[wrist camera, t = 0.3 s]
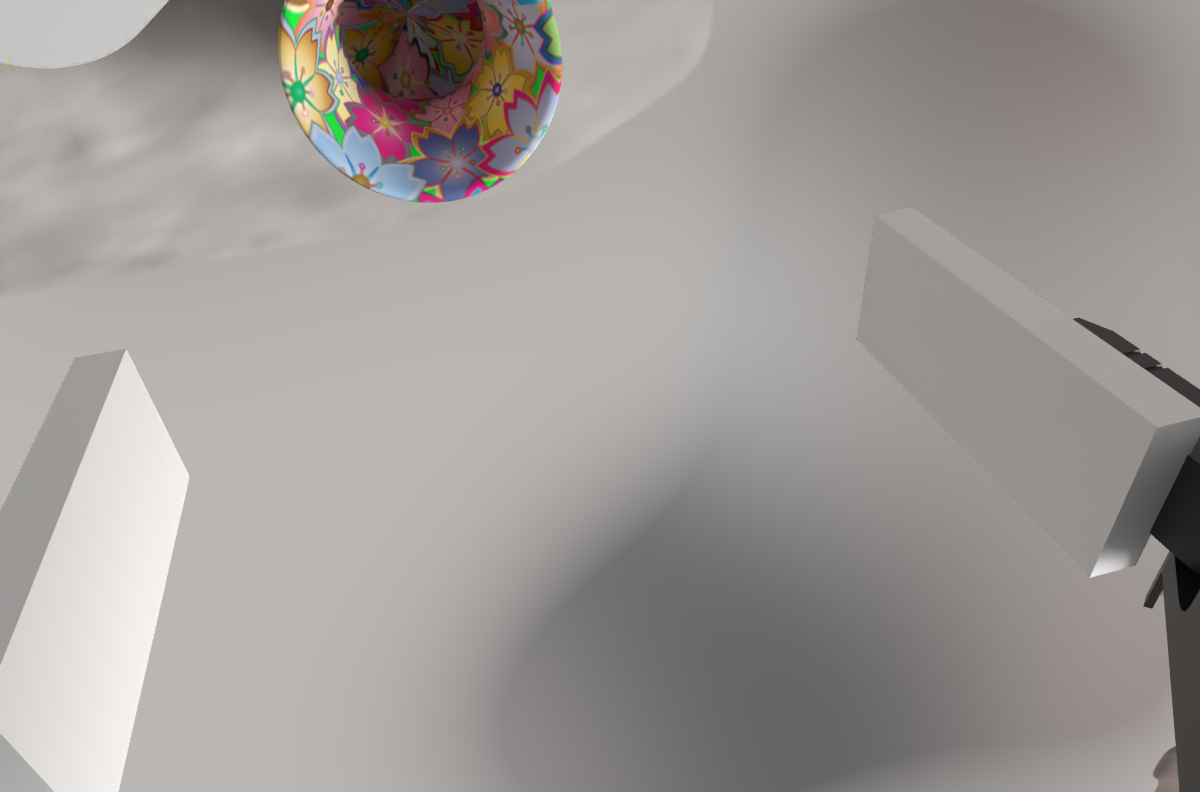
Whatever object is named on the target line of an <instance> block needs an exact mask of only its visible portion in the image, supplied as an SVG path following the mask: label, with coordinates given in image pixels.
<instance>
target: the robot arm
mask: <svg viewBox="0 0 1200 792" xmlns="http://www.w3.org/2000/svg"><path fill="white" fill-rule="evenodd" d="M856 339H857V340H858V341H859V342H860V343H861V344H862V345H863V346H864V347H865V348H866V349H867V350H868V351H869V352H870V353H871V354H872V355H873V357H875V358H876V360H877V361H878V362H879V363H880V364H882V366H883V367H884V368H885V369H886V370H887V371H888V372H889V373H890V374H891V375H892V376H893V377H894V378H895V379H896V380H897V381H898V382H899V383H900V384H901V385H902V386H903V387H904V388H905V389H906V390H907V391H908V392H909V393H910V394H911V395H912V396H913V397H914V398H915V399H916V400H917V402H919V404H920V405H922V407H923V408H924V409H925V410H926V411H927V412H928V413H929V414H930V415H931V416H932V417H933V418H934V419H935V420H936V421H937V422H938V423H939V424H940V425H941V426H942V427H943V428H944V429H945V430H946V431H947V432H948V433H949V434H950V435H951V436H952V437H953V438H954V439H955V440H956V441H957V442H958V443H959V445H961V447H962V448H963V449H964V450H965V451H966V452H967V453H968V454H969V455H970V456H971V457H972V458H973V459H974V460H975V461H976V462H977V463H978V464H979V465H980V466H981V467H982V468H983V469H984V470H985V471H986V472H987V473H988V474H989V475H990V476H991V477H992V478H993V479H994V480H995V481H996V482H997V483H998V484H999V485H1000V486H1001V487H1002V488H1003V489H1004V491H1005V492H1007V493H1008V495H1009V496H1011V498H1012V499H1013V500H1014V501H1015V502H1016V503H1017V504H1018V505H1019V506H1020V507H1021V508H1022V509H1023V510H1024V511H1025V512H1026V513H1027V514H1028V515H1029V516H1030V517H1031V518H1032V519H1033V520H1034V521H1035V522H1036V523H1037V524H1038V525H1039V526H1040V527H1041V528H1042V529H1043V530H1044V531H1045V532H1046V533H1047V535H1048V536H1049V537H1050V538H1052V540H1053V541H1054V542H1055V543H1056V544H1057V545H1058V546H1059V547H1060V548H1061V549H1062V550H1063V551H1064V552H1065V553H1066V554H1067V555H1068V556H1069V557H1070V558H1071V559H1072V560H1073V561H1074V562H1075V563H1076V564H1077V565H1078V566H1079V567H1080V568H1081V569H1082V570H1083V571H1084V572H1085V573H1086V574H1087V575H1088V576H1089V578H1090V577H1094V576H1098V575H1102V574H1105V573H1109V572H1112V571H1116V570H1120V569H1123V568H1127V567H1131V566H1134V565H1136V564H1137V562H1138V559H1139V558H1140V556H1141V554H1142V551H1143V549H1144V547H1145V545H1146V543H1147V541H1148V539H1149V537H1150V535H1151V534H1152V535H1153V536H1154V537H1155V538H1156V539H1157V540H1158V541H1159V542H1161V543H1162V544H1163V545H1164V546H1165V547H1166V548H1167V549H1169V550H1170V551H1169V553H1168V555H1167V557H1166V559H1165V561H1164V563H1163V564H1162V566H1161V568H1160V570H1159V572H1158V574H1157V576H1156V578H1155V580H1154V582H1153V584H1152V586H1151V587H1150V589H1149V591H1148V593H1147V595H1146V598H1145V602H1144V606H1145V607H1148V608H1153V606H1154V604H1155V602H1156V601H1157V599H1158V597H1159V596H1161V595H1163V594H1164V604H1165V617H1166V628H1167V641H1168V653H1169V666H1170V678H1171V691H1172V703H1173V716H1174V728H1175V740H1176V753H1177V765H1178V778H1179V790H1180V792H1200V389H1198V388H1197V387H1195V386H1194V385H1192V384H1191V383H1189V382H1188V381H1186V380H1185V379H1183V378H1182V377H1180V376H1179V375H1177V374H1176V373H1174V372H1173V371H1172V370H1170V369H1169V368H1165V369H1163V368H1162V364H1161V363H1159V362H1158V361H1157V360H1155V359H1154V358H1152V357H1151V356H1149V355H1148V354H1146V353H1143V354H1141V353H1140V349H1139V348H1137V347H1136V346H1134V345H1133V344H1131V343H1130V342H1128V341H1127V340H1125V339H1124V338H1123V337H1121V336H1120V335H1118V334H1116V333H1115V332H1114V331H1111V330H1109V329H1106V328H1104V327H1101V326H1099V325H1096V324H1093V323H1091V322H1088V321H1086V320H1083V319H1081V318H1075V319H1072V318H1070V317H1069V316H1067V315H1066V314H1064V313H1063V312H1062V311H1060V310H1059V309H1057V308H1056V307H1054V306H1053V305H1051V304H1050V303H1049V302H1047V301H1046V300H1044V299H1043V298H1041V297H1040V296H1038V295H1037V294H1035V293H1034V292H1033V291H1031V290H1030V289H1028V288H1027V287H1026V286H1024V285H1023V284H1021V283H1020V282H1018V281H1017V280H1015V279H1014V278H1012V277H1011V276H1010V275H1008V274H1007V273H1005V272H1004V271H1002V270H1001V269H1000V268H998V267H997V266H995V265H994V264H992V263H991V262H990V261H988V260H986V259H985V258H984V257H982V256H981V255H979V254H978V253H977V252H975V251H974V250H972V249H971V248H969V247H968V246H966V245H965V244H964V243H962V242H961V241H959V240H958V239H956V238H955V237H953V236H952V235H951V234H949V233H948V232H946V231H945V230H943V229H942V228H941V227H939V226H937V225H936V224H935V223H933V222H932V221H930V220H929V219H928V218H926V217H925V216H923V215H922V214H920V213H919V212H917V211H916V210H914V209H913V208H908V209H903V210H897V211H891V212H886V213H881V214H875V218H874V225H873V231H872V238H871V245H870V251H869V258H868V264H867V271H866V278H865V285H864V291H863V298H862V304H861V311H860V318H859V325H858V331H857V338H856ZM188 481H189V475H188V473H187V471H186V468H185V467H184V465H183V462H182V460H181V458H180V456H179V454H178V453H177V450H176V449H175V446H174V444H173V442H172V440H171V439H170V436H169V434H168V432H167V430H166V428H165V426H164V424H163V422H162V420H161V418H160V417H159V414H158V412H157V410H156V408H155V406H154V404H153V402H152V400H151V398H150V396H149V394H148V392H147V390H146V388H145V386H144V384H143V382H142V380H141V378H140V376H139V374H138V372H137V370H136V368H135V366H134V364H133V362H132V360H131V358H130V356H129V354H128V352H127V350H126V349H122V350H117V351H112V352H106V353H100V354H95V355H89V356H84V357H78V358H74V360H73V362H72V364H71V367H70V369H69V371H68V373H67V375H66V377H65V379H64V381H63V383H62V385H61V387H60V389H59V391H58V393H57V395H56V397H55V400H54V402H53V404H52V406H51V408H50V410H49V412H48V414H47V416H46V418H45V420H44V422H43V424H42V426H41V428H40V430H39V433H38V435H37V437H36V439H35V441H34V443H33V445H32V447H31V449H30V451H29V453H28V455H27V457H26V459H25V461H24V464H23V466H22V468H21V470H20V472H19V474H18V476H17V478H16V480H15V482H14V484H13V486H12V488H11V490H10V492H9V494H8V497H7V499H6V501H5V503H4V505H3V507H2V509H1V511H0V792H118V791H119V787H120V782H121V778H122V774H123V769H124V764H125V760H126V756H127V751H128V747H129V742H130V738H131V733H132V729H133V725H134V720H135V716H136V711H137V707H138V702H139V698H140V694H141V689H142V685H143V681H144V676H145V672H146V667H147V663H148V658H149V654H150V650H151V645H152V641H153V636H154V632H155V628H156V622H157V618H158V614H159V610H160V605H161V601H162V596H163V592H164V588H165V583H166V579H167V574H168V570H169V565H170V561H171V556H172V552H173V548H174V543H175V539H176V535H177V530H178V526H179V521H180V517H181V512H182V508H183V504H184V499H185V495H186V490H187V486H188Z"/></svg>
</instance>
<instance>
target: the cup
mask: <svg viewBox="0 0 1200 792" xmlns="http://www.w3.org/2000/svg"><path fill="white" fill-rule="evenodd" d="M168 1H169V0H0V63H4V64H8V65H14V66H20V67H28V68H63V67H72V66H77V65H82V64H85V63H89V62H92V61H95V60H98V59H100V58H103V57H105V56H107V55H109V54H111V53H113V52H115V51H117V50H118V49H120V48H121V47H123V46H124V45H126V44H127V43H128V42H130V41H131V40H132V39H133V38H134V37H135V36H136V35H137V34H138V33H140V31H141V30H142V29H143V28H144V27H145V26H146V25H147V24H148V23H149V22H150V21H151V20H152V18H153V17H154V16H155V15H156V14H157V13H158V12H159V11H160V10H161V9H162V8H163V7H164V5H165V4H166V3H167V2H168Z"/></svg>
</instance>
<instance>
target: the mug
mask: <svg viewBox="0 0 1200 792" xmlns="http://www.w3.org/2000/svg"><path fill="white" fill-rule="evenodd" d="M278 61H279V69H280V75H281V79H282V84H283V88H284V91H285V94H286V97H287V100H288V103H289V105H290V107H291V110H292V112H293V114H294V116H295V118H296V120H297V122H298V124H299V125H300V127H301V129H302V130H303V132H304V133H305V135H306V136H307V138H308V139H309V141H310V142H311V143H312V144H313V146H314V147H315V148H316V149H317V150H318V152H319V153H320V154H321V155H322V156H323V157H324V158H325V159H326V160H327V161H328V162H329V163H330V164H331V165H333V166H334V167H335V168H336V169H337V170H339V171H340V172H341V173H343V174H344V175H345V176H347V177H348V178H350V179H351V180H353V181H355V182H356V183H358V184H360V185H362V186H363V187H366V188H368V189H370V190H372V191H374V192H377V193H380V194H382V195H385V196H388V197H392V198H396V199H400V200H405V201H411V202H423V203H437V202H447V201H453V200H458V199H463V198H466V197H469V196H473V195H476V194H478V193H480V192H483V191H485V190H487V189H489V188H491V187H493V186H495V185H497V184H498V183H500V182H501V181H503V180H504V179H506V178H507V177H508V176H510V175H511V174H512V173H513V172H515V171H516V170H517V169H518V168H519V167H520V166H521V165H522V164H523V163H524V162H525V161H526V160H527V159H528V158H529V156H530V155H531V154H532V153H533V152H534V150H535V149H536V147H537V146H538V144H539V143H540V142H541V140H542V138H543V136H544V135H545V133H546V131H547V129H548V127H549V125H550V122H551V120H552V118H553V115H554V112H555V109H556V106H557V102H558V97H559V93H560V86H561V78H562V52H561V44H560V37H559V33H558V29H557V24H556V21H555V18H554V15H553V12H552V9H551V7H550V5H549V2H548V0H285V2H284V6H283V9H282V13H281V18H280V24H279V31H278Z"/></svg>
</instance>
